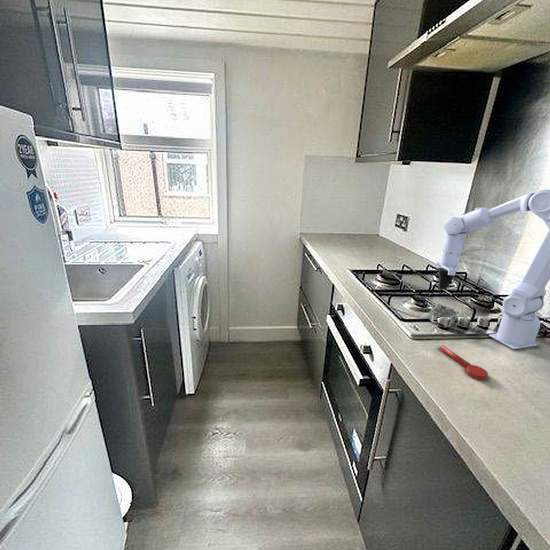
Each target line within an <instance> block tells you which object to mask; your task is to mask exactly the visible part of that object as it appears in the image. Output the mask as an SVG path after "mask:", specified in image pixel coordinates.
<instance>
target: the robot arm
mask: <svg viewBox="0 0 550 550" xmlns="http://www.w3.org/2000/svg"><path fill="white" fill-rule="evenodd" d="M522 211H524V212H531V213H533V214H534V215H535V216H537V217H538V218H540V219H541V220H542V221H543V222H544V224H545V225H546V226H547V228H548V231H547V234H546V235H545V237H544V240H542V242H541V244H540V246H539V248H538V250H537V252H536V254H535V255H534V257H533V260H532V261H531V264H530V265H529V267H528V269H527V271H526V273H525V274H524V276H523V279H522V280H521V282H519V284H518V285H517V286H516V287H514V288H513V289H512V291H511V293H510V294H509V295H507V296H505V298H504V299H503V300H502V304H501V305H502V308H503V310H504V311H503V314H502V317H501V320H500V323H499V326H498V329H497V332H496V333H489V334H488V337H491V338H492V339H494V340H496V341H498V342H499V343H501V344H503V345H504V346H506V347H508V348H510V349H511V350H519V349H525V348H533V347H537V346H538V344H537V343H535V342H536V339H537V336H538V333H539V330H540V328H541V321H540V318H539V317H538V316H537V315H536V313H537V312H540V310H542V309H543V307H544V305H545V300H544V299H545V296H546V294H547V290H546V287H547V284H548V283H549V282H550V189H540V190H538V191H536V192H530V193H527V194H524V195H521V196H519V197H517V198H514V199H512V200H511V199H510V200H509V201H507V202H504V203H502V204H500V205H497V206H495V207H491V208H487V207H485V206H483V207H481V206H478V207H475V208H474V210H473V211H470V212H467V213H465V212H464V213H461V214H460V215H459V216H458V217H457V216H451V217H449V218H448V219H446V221H445V222H444V224H443V225H444V226H443V228H444V231H445V237H444V240H443V241H444V243H443V246H442V249H441V254H440V258H439V261H435V262H434V264H435V265H436V266H438V267H437V272H438V288H439V289H440V290H447V289H448V287H449V285H450V283H451V281H452V280H453V279H454V278H455V277H456V276H457V273H458V272H457V270H458V268H459V262H460V260H461V259H460V258H461V255H462V251H463V247H464V243H465V242H464V241H465V239H466V237H467V234H468V233H470V232H471V231H474V230H477V229H480V228H484V227H486V226H487V227H488V226H490V225H491V224H492V223H493V222H494V220H496V219H498V218H502V217H505V216H509V215H512V214H515V213H518V212H522Z"/></svg>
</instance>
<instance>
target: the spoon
mask: <svg viewBox="0 0 550 550" xmlns="http://www.w3.org/2000/svg"><path fill="white" fill-rule="evenodd" d="M439 350H441V351H442V352H443V353H444V354H446V355H447V356H449V357H450V358H452V360H454V361H456V362H457V363H459V364H460V365H461V366H463V367H464V368H465V372H466V374H467V375H468V376H469V377H471V378H473V379H475V380H478V381H479V380H480V381H486V380H487V378H488V376H489V373H488V371H487V370H486V369H484V368H483V367H481V366H478V365H475V364H471V363H470V362H468V361H467V360H465V359H464V358H462V357H461V356H460V355H458V354H456V352H453V351H452V350H451V349H450V348H448V347H446V346H445V345H443V344H441V345H439Z"/></svg>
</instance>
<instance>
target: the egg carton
mask: <svg viewBox="0 0 550 550" xmlns="http://www.w3.org/2000/svg"><path fill="white" fill-rule="evenodd" d="M437 310H438V314H436V312H437ZM459 314H460V311H459V310H454V308H451V307H449V306H446V305H443V304H442V303H437V304H436V305H435V306H434V307H433V308H431V309H430V310H429V321H430V322H431V323H433V324H439V323H438V321H434V320H437V318H440V317H449V319H450V324H449V325H448V326H443V328H452V326H453V325H454V323H455V321H457V318H458V316H459ZM451 324H452V325H451Z"/></svg>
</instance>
